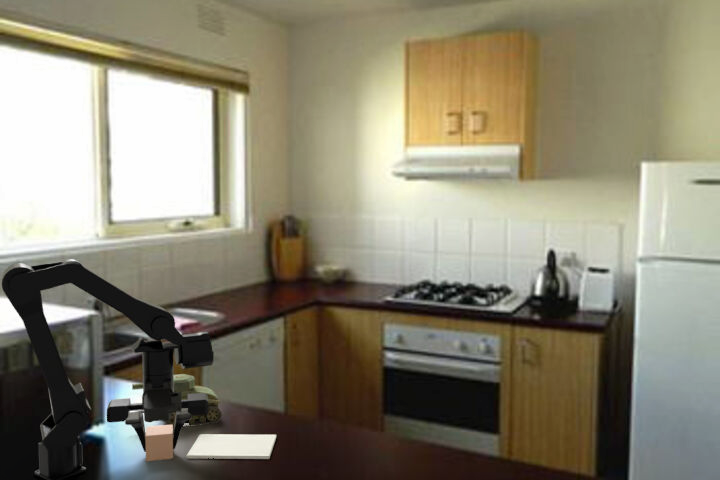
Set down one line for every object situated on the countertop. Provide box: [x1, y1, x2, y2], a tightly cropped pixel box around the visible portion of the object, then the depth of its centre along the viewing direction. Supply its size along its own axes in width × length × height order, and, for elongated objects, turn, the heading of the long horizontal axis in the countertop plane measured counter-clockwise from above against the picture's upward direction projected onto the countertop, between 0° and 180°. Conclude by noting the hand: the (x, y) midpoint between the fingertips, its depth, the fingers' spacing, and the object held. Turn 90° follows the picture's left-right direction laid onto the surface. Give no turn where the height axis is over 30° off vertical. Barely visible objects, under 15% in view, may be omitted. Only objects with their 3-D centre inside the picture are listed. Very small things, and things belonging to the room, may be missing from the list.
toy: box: [131, 373, 223, 429], centre depth 151 cm, size 10×18×10 cm, turn 112°
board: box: [186, 433, 277, 460], centre depth 136 cm, size 16×11×1 cm
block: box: [145, 424, 174, 462], centre depth 132 cm, size 5×5×5 cm
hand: (159, 449), depth 132 cm, fingers closed on block, 5 cm apart
